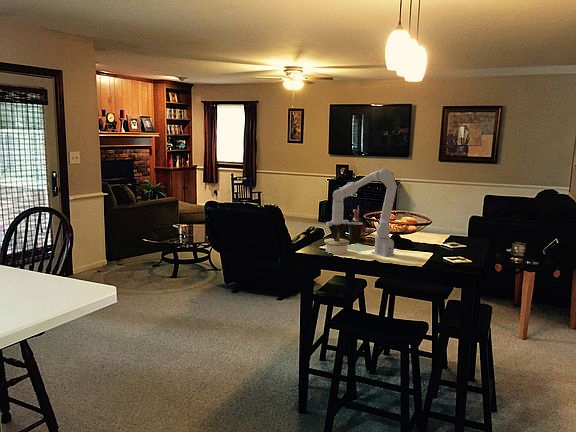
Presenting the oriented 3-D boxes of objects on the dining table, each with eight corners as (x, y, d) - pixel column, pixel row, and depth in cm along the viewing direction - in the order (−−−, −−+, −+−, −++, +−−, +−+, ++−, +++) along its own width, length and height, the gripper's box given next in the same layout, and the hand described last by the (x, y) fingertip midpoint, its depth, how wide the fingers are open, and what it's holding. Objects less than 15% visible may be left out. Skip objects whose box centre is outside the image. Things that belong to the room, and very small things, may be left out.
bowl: (351, 252, 257) (351, 244, 256) (335, 255, 250) (336, 246, 250) (336, 248, 266) (337, 240, 265) (321, 251, 259) (321, 243, 258)
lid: (354, 243, 256) (354, 234, 256) (336, 246, 248) (336, 236, 248) (337, 238, 266) (337, 230, 266) (319, 241, 259) (319, 232, 258)
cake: (366, 235, 306) (368, 206, 303) (352, 235, 305) (353, 206, 302) (361, 232, 317) (363, 204, 314) (347, 232, 315) (348, 204, 313)
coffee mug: (357, 242, 285) (358, 225, 283) (344, 240, 290) (345, 223, 289) (367, 239, 294) (368, 222, 293) (354, 237, 299) (355, 221, 298)
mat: (377, 248, 268) (377, 248, 268) (358, 252, 259) (358, 251, 259) (357, 243, 280) (357, 243, 280) (338, 247, 270) (338, 246, 270)
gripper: (342, 211, 262) (341, 235, 265) (322, 213, 254) (321, 238, 256) (352, 212, 257) (350, 238, 259) (331, 214, 248) (330, 241, 250)
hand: (336, 238), depth 257 cm, fingers closed on lid, 3 cm apart
